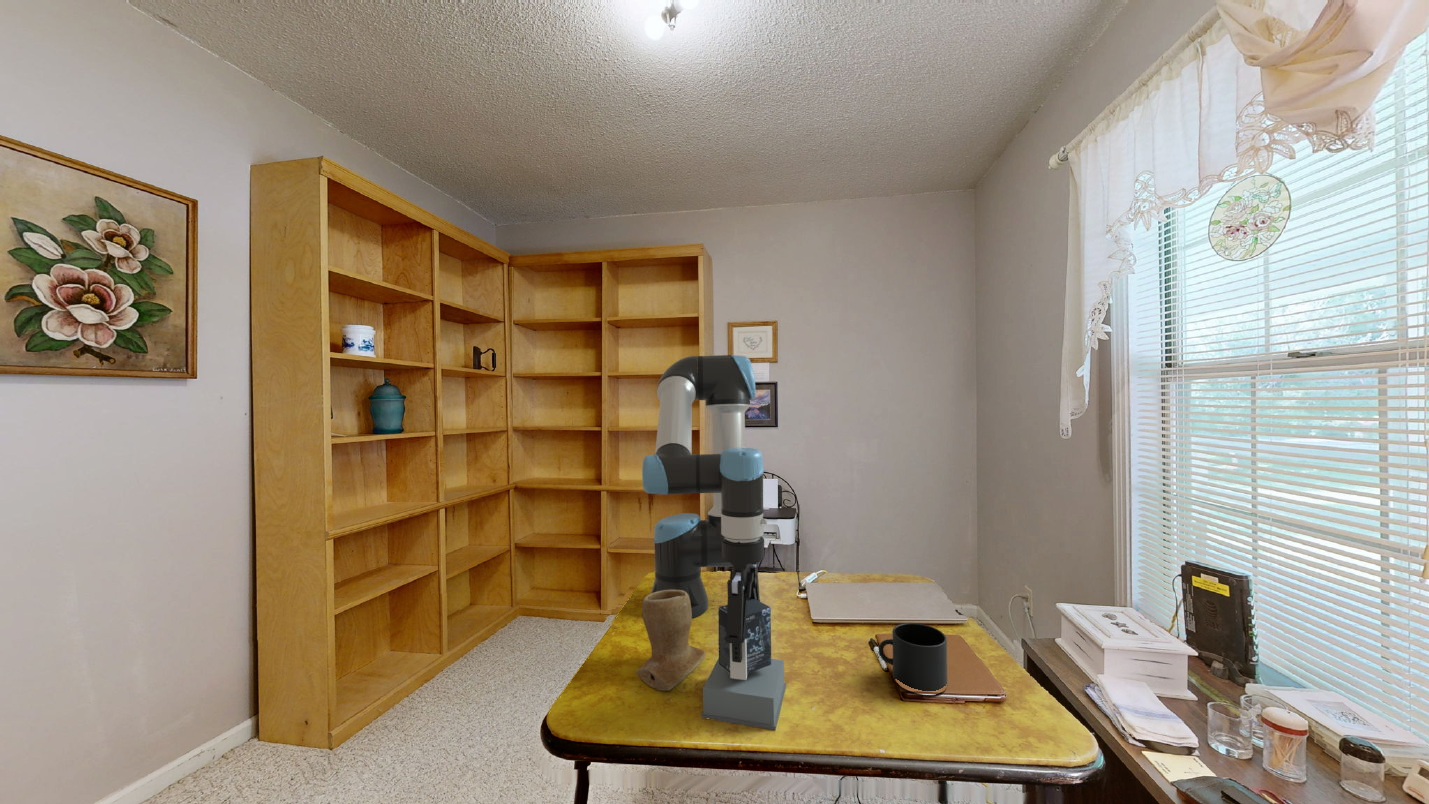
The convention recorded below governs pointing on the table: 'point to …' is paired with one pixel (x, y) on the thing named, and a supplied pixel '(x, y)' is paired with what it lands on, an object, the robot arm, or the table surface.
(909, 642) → the mug
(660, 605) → the stone cup
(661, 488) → the robot arm
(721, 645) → the box
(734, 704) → the plinth
